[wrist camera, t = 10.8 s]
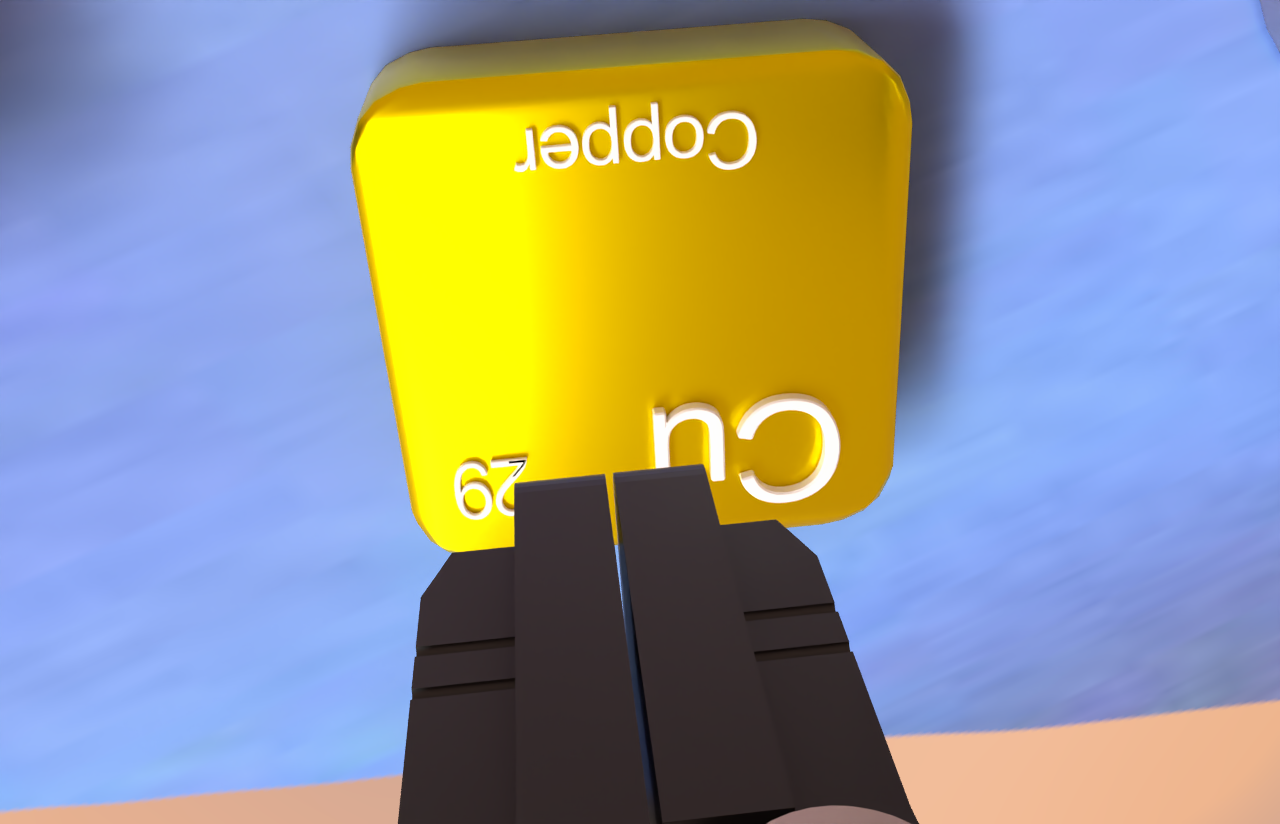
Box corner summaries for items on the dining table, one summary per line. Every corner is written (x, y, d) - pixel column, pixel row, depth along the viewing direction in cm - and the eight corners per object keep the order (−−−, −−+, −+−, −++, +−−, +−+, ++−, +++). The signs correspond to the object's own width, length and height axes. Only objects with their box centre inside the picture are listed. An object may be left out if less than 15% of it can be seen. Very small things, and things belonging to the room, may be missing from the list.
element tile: (876, 9, 35) (926, 47, 31) (858, 452, 42) (897, 530, 38) (353, 49, 34) (332, 94, 30) (428, 493, 42) (419, 578, 38)
